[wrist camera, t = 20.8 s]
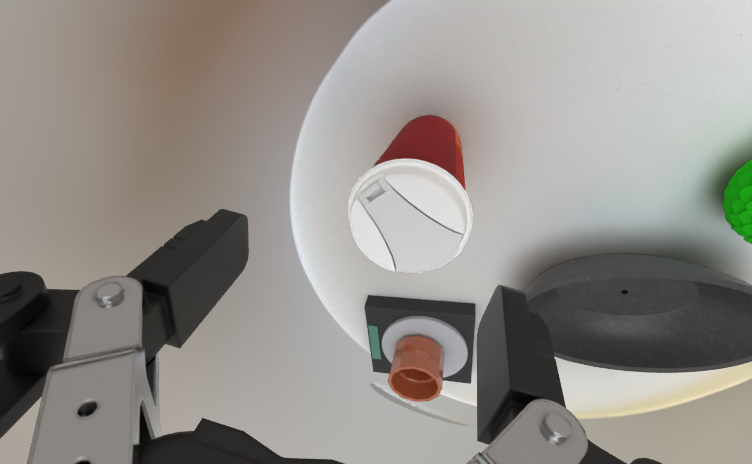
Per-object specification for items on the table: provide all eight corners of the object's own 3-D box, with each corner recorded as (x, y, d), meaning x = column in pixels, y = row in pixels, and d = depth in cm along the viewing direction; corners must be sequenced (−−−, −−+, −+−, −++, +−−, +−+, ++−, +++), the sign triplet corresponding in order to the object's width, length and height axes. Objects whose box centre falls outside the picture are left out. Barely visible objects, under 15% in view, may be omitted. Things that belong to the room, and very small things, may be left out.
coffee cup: (368, 138, 37) (316, 214, 25) (437, 82, 33) (416, 139, 21) (421, 201, 40) (398, 299, 27) (492, 156, 36) (501, 246, 23)
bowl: (511, 230, 39) (517, 266, 34) (774, 235, 34) (826, 279, 29) (504, 317, 45) (507, 359, 40) (724, 333, 40) (761, 383, 35)
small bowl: (391, 358, 50) (384, 392, 46) (401, 327, 46) (393, 360, 42) (436, 371, 49) (433, 407, 45) (449, 341, 46) (447, 376, 42)
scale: (376, 360, 55) (372, 375, 52) (368, 295, 48) (363, 309, 46) (470, 371, 52) (470, 387, 49) (475, 303, 45) (475, 319, 43)
